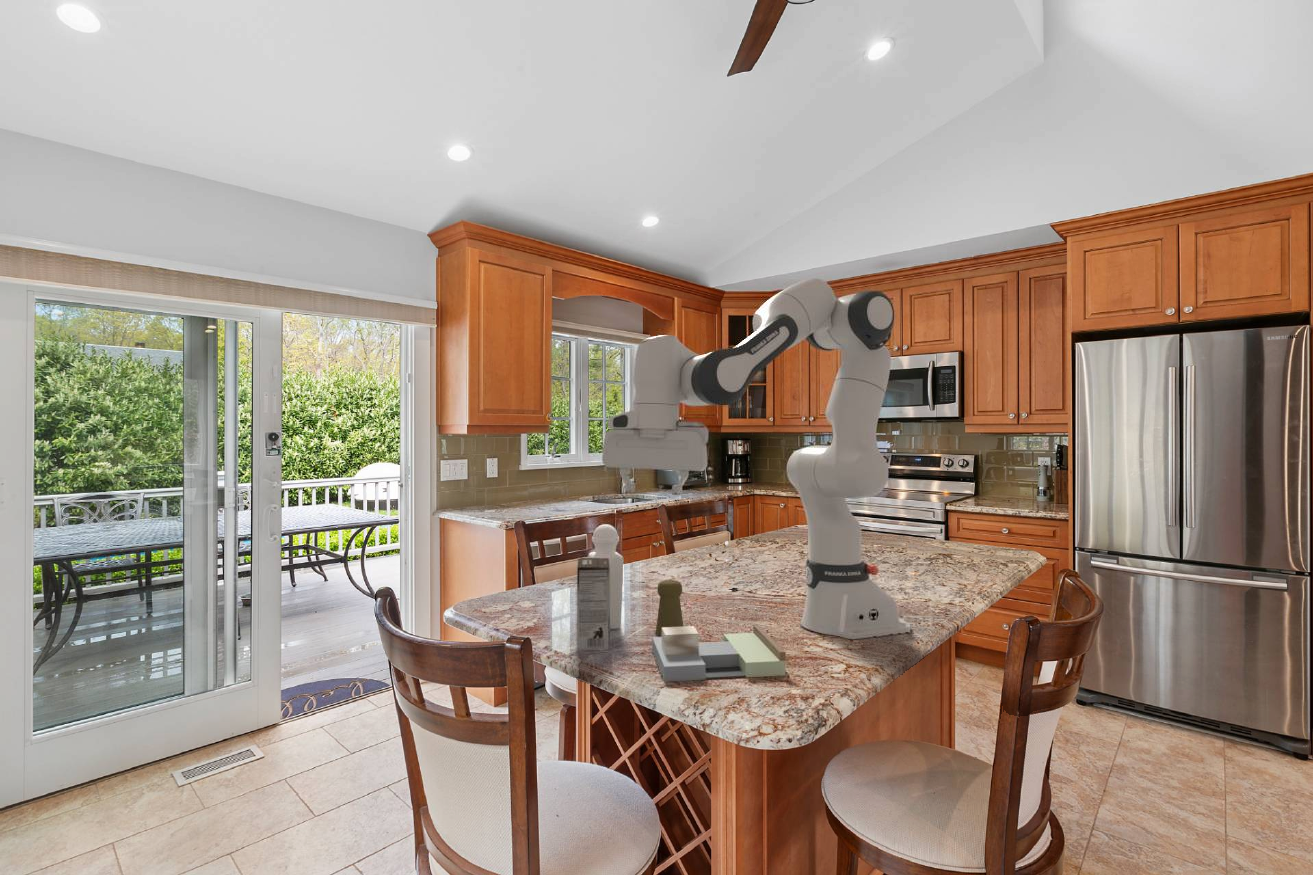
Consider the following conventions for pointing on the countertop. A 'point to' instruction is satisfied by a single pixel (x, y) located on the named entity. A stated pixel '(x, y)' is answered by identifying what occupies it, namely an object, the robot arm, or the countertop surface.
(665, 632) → the cream block
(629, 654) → the countertop surface
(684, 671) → the track
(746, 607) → the countertop surface
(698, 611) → the countertop surface
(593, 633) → the coffee box
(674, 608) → the cork
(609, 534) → the white peg figure
